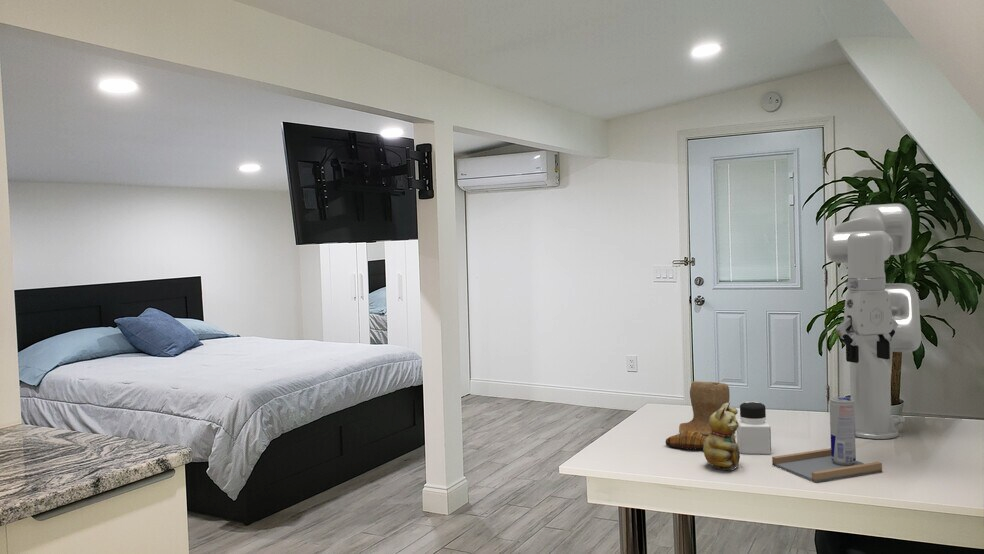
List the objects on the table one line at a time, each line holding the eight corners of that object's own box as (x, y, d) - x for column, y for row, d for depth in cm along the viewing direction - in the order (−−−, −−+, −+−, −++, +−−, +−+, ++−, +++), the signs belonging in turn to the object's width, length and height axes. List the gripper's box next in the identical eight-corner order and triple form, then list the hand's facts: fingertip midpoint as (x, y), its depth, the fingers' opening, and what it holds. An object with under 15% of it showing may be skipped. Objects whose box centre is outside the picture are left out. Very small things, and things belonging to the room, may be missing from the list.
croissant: (662, 450, 185) (661, 430, 185) (668, 443, 191) (667, 424, 191) (716, 454, 179) (716, 434, 179) (721, 447, 185) (720, 428, 185)
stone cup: (730, 429, 202) (728, 376, 202) (738, 440, 190) (736, 384, 190) (674, 429, 204) (673, 377, 204) (679, 440, 192) (677, 385, 192)
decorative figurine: (736, 474, 162) (734, 408, 162) (699, 470, 166) (696, 406, 166) (743, 462, 171) (741, 400, 170) (708, 459, 175) (706, 398, 174)
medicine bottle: (771, 454, 177) (770, 406, 176) (741, 454, 178) (739, 406, 178) (766, 446, 183) (765, 400, 183) (737, 446, 185) (735, 400, 185)
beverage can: (854, 460, 167) (852, 396, 167) (857, 466, 162) (855, 401, 162) (830, 459, 169) (828, 395, 168) (832, 465, 164) (830, 400, 164)
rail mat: (835, 455, 173) (834, 447, 173) (882, 472, 160) (882, 463, 160) (772, 465, 168) (772, 456, 168) (815, 482, 155) (815, 473, 155)
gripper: (848, 288, 160) (850, 366, 161) (909, 283, 165) (911, 359, 166) (823, 287, 167) (825, 361, 168) (883, 282, 172) (884, 354, 173)
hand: (868, 360), depth 167 cm, fingers open, 8 cm apart
